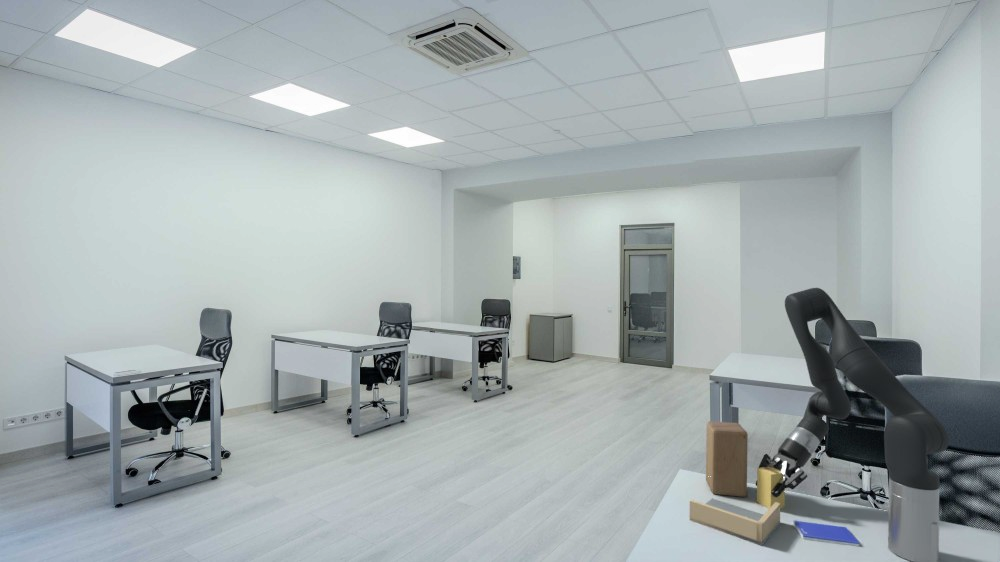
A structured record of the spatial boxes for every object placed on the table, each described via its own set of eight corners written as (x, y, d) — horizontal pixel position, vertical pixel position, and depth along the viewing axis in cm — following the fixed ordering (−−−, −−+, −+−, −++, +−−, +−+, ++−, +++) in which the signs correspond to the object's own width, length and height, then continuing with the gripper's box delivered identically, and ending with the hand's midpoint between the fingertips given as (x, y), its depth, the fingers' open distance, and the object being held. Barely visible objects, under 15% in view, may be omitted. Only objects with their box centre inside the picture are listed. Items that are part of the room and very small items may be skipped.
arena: (780, 522, 132) (780, 503, 132) (761, 545, 121) (761, 524, 121) (712, 501, 145) (712, 483, 145) (689, 519, 133) (689, 500, 133)
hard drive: (803, 535, 124) (859, 542, 121) (792, 519, 132) (845, 526, 129) (802, 541, 124) (859, 548, 121) (792, 525, 132) (845, 532, 129)
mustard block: (784, 507, 141) (785, 472, 141) (770, 509, 140) (771, 473, 140) (770, 499, 146) (771, 465, 146) (756, 501, 144) (757, 467, 144)
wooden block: (747, 498, 147) (748, 431, 146) (712, 495, 149) (713, 429, 148) (738, 484, 156) (739, 422, 156) (705, 481, 158) (706, 420, 158)
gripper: (772, 430, 152) (739, 473, 148) (813, 446, 138) (778, 493, 135) (785, 446, 153) (753, 489, 150) (828, 463, 139) (793, 510, 136)
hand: (765, 490), depth 142 cm, fingers closed on mustard block, 5 cm apart
